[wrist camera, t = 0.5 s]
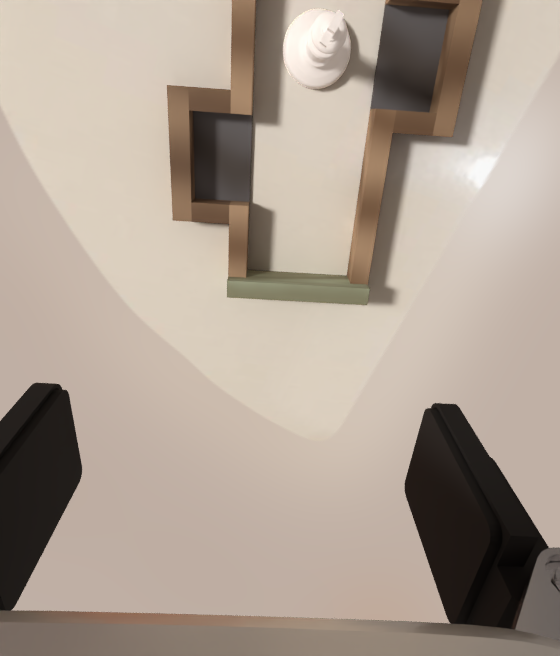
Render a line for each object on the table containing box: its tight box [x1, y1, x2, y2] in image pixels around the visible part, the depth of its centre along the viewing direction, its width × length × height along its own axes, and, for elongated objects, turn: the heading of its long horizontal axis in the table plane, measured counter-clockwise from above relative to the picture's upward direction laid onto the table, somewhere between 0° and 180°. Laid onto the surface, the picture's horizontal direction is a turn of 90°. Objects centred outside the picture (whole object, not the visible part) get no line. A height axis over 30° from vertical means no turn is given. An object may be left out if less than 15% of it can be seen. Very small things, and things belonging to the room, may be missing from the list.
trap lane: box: [167, 0, 483, 305], centre depth 33 cm, size 24×21×3 cm
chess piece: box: [283, 8, 351, 89], centre depth 27 cm, size 5×5×10 cm
